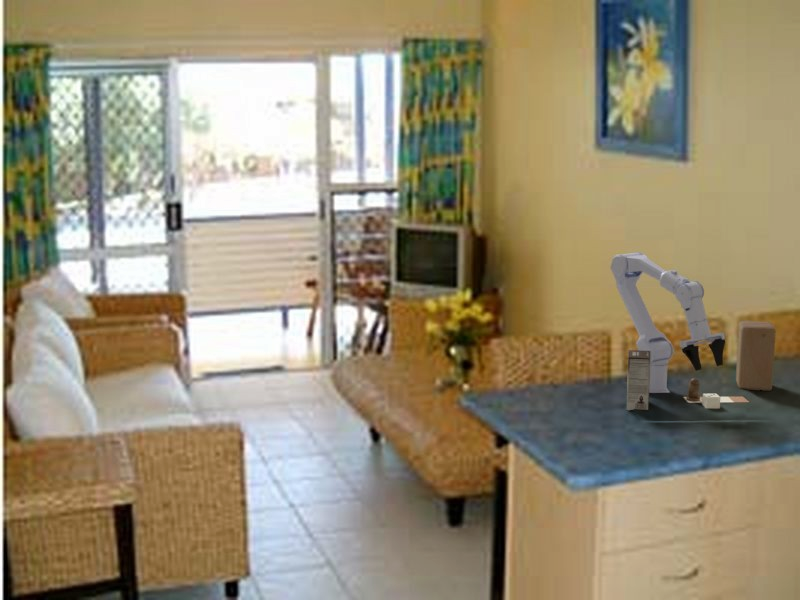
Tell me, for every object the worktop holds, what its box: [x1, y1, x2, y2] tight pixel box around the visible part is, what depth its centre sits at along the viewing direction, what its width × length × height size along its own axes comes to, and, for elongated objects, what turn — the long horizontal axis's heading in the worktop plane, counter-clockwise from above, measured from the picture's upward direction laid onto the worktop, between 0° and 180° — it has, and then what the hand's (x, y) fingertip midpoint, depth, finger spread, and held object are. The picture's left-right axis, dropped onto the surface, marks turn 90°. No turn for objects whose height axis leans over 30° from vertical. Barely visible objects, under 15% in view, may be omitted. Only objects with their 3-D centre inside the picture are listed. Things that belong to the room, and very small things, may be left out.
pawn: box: [686, 377, 701, 401], centre depth 333 cm, size 4×4×6 cm
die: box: [701, 392, 721, 409], centre depth 326 cm, size 4×4×4 cm
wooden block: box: [735, 320, 777, 392], centre depth 348 cm, size 10×10×20 cm
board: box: [683, 396, 750, 404], centre depth 334 cm, size 18×6×1 cm, turn 91°
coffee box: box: [626, 349, 651, 411], centre depth 327 cm, size 9×6×16 cm
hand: (709, 367), depth 326 cm, fingers open, 7 cm apart
